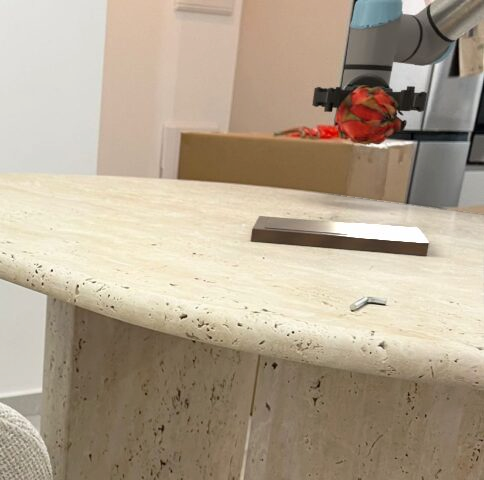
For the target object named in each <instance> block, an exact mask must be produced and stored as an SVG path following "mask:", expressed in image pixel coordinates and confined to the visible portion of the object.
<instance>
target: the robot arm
mask: <svg viewBox="0 0 484 480" xmlns="http://www.w3.org/2000/svg"><path fill="white" fill-rule="evenodd" d="M483 21H484V0H433V1H432V2H430V3H429V4H428V5H427V6H425V7H424V8H423V9H422V10H420V11H419V12H418V13H416V14H408V13H404V12H403V1H402V0H357V1H355V4H354V7H353V13H352V18H351V21H350V24H349V27H350V28H349V35H348V43H347V50H346V58H345V64H344V70H343V76H342V82H341V86H335V87H324V88H323V87H321V86H317V87H314V89H313V97H312V106H313V107H315V108H318V107H322V108H323V112H325V113H332V112H333V109H338V108H339V107H340V105H341V102H342V101H343V100H344V99H345V98H346V97H347V96H348V95H349V94H350V93H352V92H353V91H354V90H356V89H357V88H358V87H359V86H363V85H369V86H368V87H369V88H374V87H379V88H381V89H382V90H384V91H385V92H386V93H387V95H389V96H391V97H393V98H394V100H395V101H396V102H397V103H398V104H399V106H398V109H399V111H401V112H411V111H416V112H418V113H422V112H424V111H425V110H426V105H427V99H428V92H426V91H420V92H416V86H414V85H413V86H412V85H407V86H406V89H401V90H400V91H394V90H393V88H392V87H390V83H391V77H392V72H393V66H394V63H397V64H406V65H414V66H419V67H425V66H432V65H437V64H439V63H441V62H443V61H445V60H446V59H447V58H448V57H449V56H450V54H451V53H452V51H453V49H454V47H455V45H456V44H455V43H456V41H457V40H458V39H459V38H461V37H462V36H463V35H465V34H467V33H468V32H469V31H471V30H472V29H473V28H474V27H476V26H477V25H479V24H480V23H481V22H483Z"/></svg>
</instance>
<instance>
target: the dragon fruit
mask: <svg viewBox="0 0 484 480" xmlns="http://www.w3.org/2000/svg"><path fill="white" fill-rule="evenodd" d="M368 86H369V85H363V86H359V87H358V88H357V89H356V90H354V91H353V92H352V93H350V94H349V95H348V96H347V97H346V98H345V99H344V100H343V101H342V102H341V105H340V107H339V108H337V111H336V113H335V117H334V120H333V121H334V123H336V124H337V132H338V136H339V138H340V140H343V139H344V140H348V139H350V141H351V142H352V143H354V144H360V145H364V146H365V145H368V146H370V145H371V144H373V145H381V144H382V143H384V142H385V141H386V140H387V139H388V138H389V136H391V135H393V134H394V133H398V132H399V133H400V132H402V131H404V130H405V129H406V126H407V120H406V119H402V118H401V117H399V116H398V115H400V116H404V113H403V111H399V109H398V106H399V104H398V103H397V102H396V101H395V100H394V98H393V97H391V96H389V95H387V93H386V92H385V91H384V90H382V89H381V88H379V87H374V88H369V87H368Z"/></svg>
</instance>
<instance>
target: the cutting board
mask: <svg viewBox="0 0 484 480" xmlns="http://www.w3.org/2000/svg"><path fill="white" fill-rule="evenodd" d="M250 235H251V236H250V242H257V243H267V244H268V243H269V244H283V245H292V246H293V245H294V246H302V247H303V246H305V247H316V248H317V247H318V248H327V249H328V248H329V249H339V250H349V251H351V250H352V251H361V252H362V251H364V252H375V253H388V254H399V255H409V256H410V255H412V256H422V257H427V256H428V251H429V246H430V242H429V241H428V240H427V238H426V237H425V235H424V234H423V233H422V231H421V230H420V229H419V228H418V227H408V226H407V227H406V226H396V225H395V226H394V225H381V224H367V223H357V222H356V223H355V222H342V221H329V220H315V219H304V218H292V217H278V216H267V215H259V216H258V218H257V220H256V221H255V223H254V225H253V226H252V229H251V234H250Z"/></svg>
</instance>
